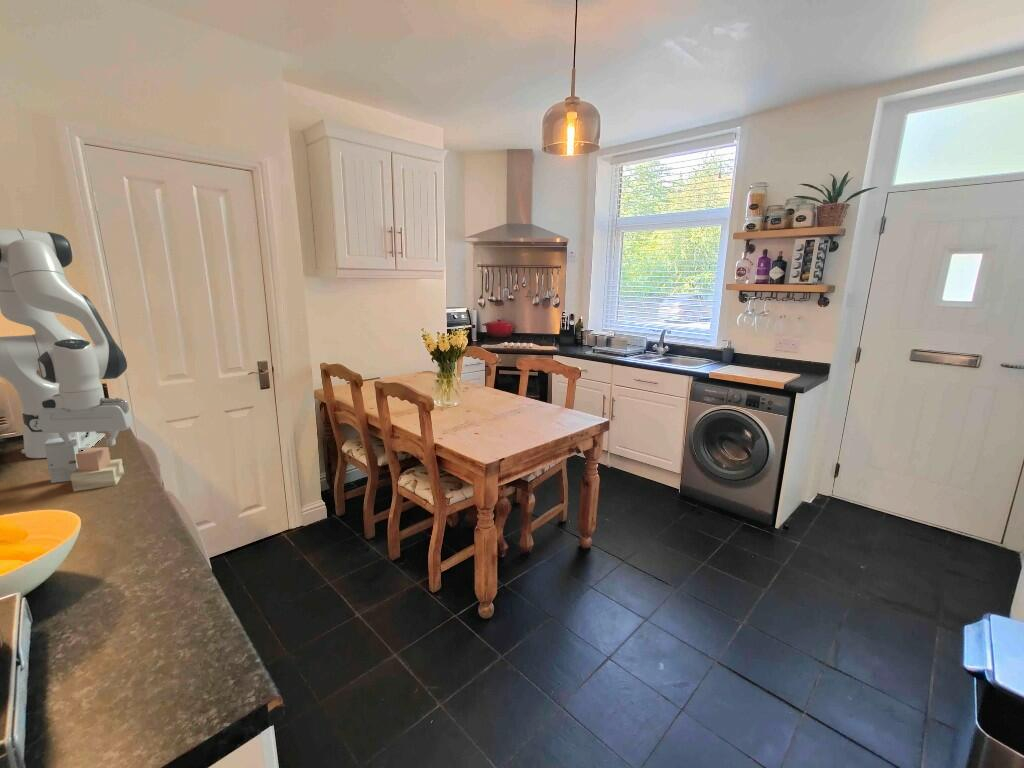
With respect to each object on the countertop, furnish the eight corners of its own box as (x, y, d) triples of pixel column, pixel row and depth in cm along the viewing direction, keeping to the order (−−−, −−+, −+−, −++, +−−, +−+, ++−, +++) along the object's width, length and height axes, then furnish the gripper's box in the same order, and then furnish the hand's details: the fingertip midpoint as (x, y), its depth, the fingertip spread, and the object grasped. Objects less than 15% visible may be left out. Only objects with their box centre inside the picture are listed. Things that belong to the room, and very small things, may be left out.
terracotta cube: (91, 464, 131) (88, 447, 129) (111, 463, 132) (108, 447, 130) (78, 471, 126) (75, 454, 125) (99, 470, 127) (96, 453, 126)
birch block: (85, 479, 132) (81, 463, 131) (124, 474, 136) (121, 458, 135) (73, 492, 124) (70, 475, 123) (115, 486, 128) (112, 470, 127)
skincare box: (51, 484, 128) (42, 443, 125) (55, 478, 132) (46, 438, 129) (80, 479, 131) (72, 440, 129) (83, 473, 135) (76, 435, 132)
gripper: (133, 395, 130) (140, 440, 133) (47, 396, 125) (57, 443, 128) (120, 401, 124) (128, 448, 127) (29, 402, 119) (40, 451, 122)
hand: (91, 445), depth 128 cm, fingers open, 8 cm apart
